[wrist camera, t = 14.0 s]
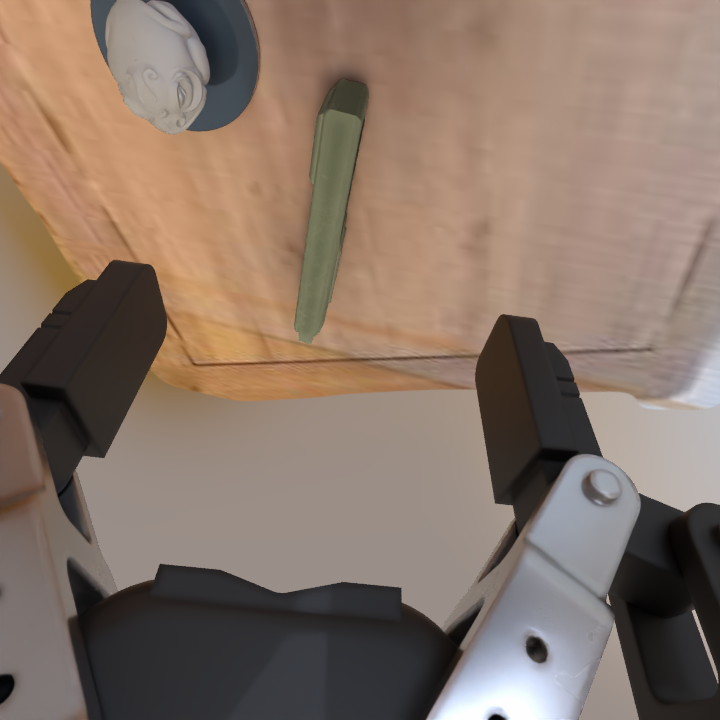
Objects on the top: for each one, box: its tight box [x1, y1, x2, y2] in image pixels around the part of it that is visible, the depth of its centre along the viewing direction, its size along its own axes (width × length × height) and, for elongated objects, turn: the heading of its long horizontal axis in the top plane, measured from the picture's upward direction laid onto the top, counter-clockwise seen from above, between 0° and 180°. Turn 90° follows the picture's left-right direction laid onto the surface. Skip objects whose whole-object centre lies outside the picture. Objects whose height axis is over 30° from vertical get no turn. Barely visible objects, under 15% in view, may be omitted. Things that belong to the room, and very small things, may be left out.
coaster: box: [91, 0, 260, 131], centre depth 30 cm, size 11×11×1 cm
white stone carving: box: [105, 0, 210, 134], centre depth 28 cm, size 6×7×7 cm
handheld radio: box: [294, 79, 369, 344], centre depth 38 cm, size 7×3×25 cm
